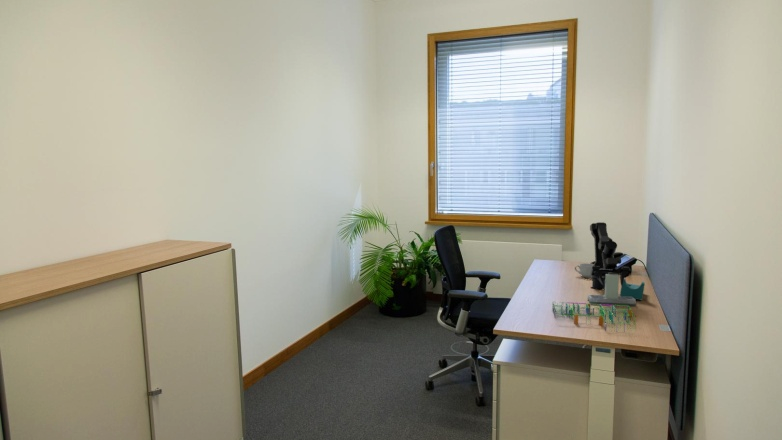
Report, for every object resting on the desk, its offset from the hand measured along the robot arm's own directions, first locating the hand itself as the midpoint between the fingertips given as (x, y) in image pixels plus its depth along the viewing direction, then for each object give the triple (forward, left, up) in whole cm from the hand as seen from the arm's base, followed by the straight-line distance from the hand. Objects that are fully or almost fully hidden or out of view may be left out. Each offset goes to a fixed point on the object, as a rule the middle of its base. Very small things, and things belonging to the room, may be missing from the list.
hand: (612, 284), depth 256 cm
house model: (+14, -32, -11) cm, 36 cm away
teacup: (-50, +43, -10) cm, 67 cm away
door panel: (-1, +1, -9) cm, 9 cm away
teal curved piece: (-4, +23, -10) cm, 25 cm away
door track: (-1, +1, -10) cm, 10 cm away
